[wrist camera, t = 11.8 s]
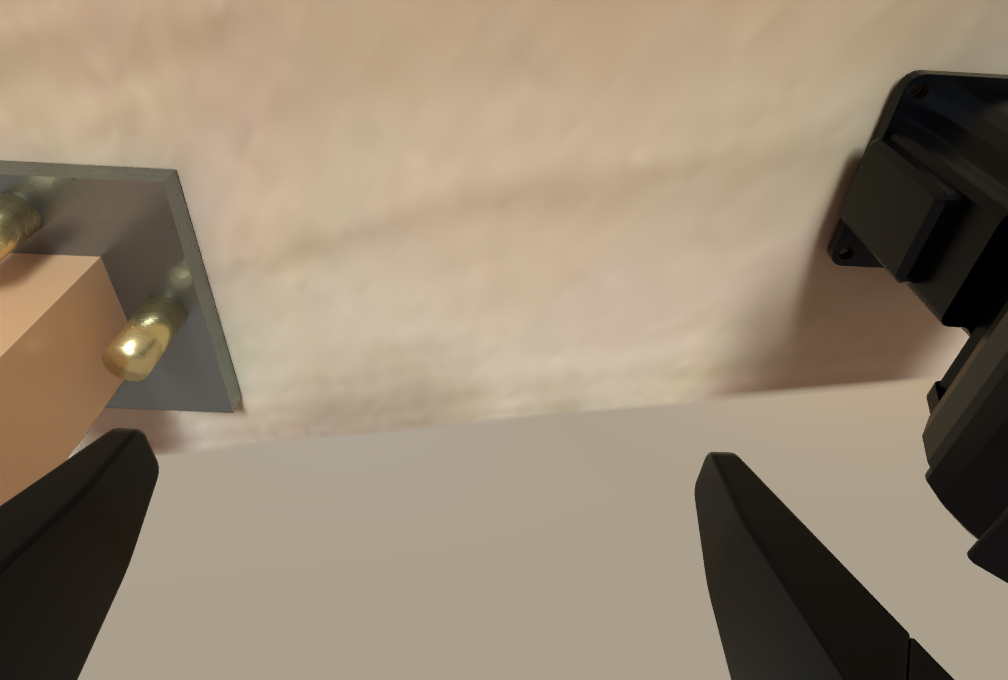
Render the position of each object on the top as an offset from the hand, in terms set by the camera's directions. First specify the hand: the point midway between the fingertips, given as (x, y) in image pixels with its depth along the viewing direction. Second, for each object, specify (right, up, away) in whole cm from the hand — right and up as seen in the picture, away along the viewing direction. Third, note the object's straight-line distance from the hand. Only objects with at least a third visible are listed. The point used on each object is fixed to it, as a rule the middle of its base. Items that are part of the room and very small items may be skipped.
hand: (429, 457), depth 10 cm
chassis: (-15, +4, +14) cm, 21 cm away
